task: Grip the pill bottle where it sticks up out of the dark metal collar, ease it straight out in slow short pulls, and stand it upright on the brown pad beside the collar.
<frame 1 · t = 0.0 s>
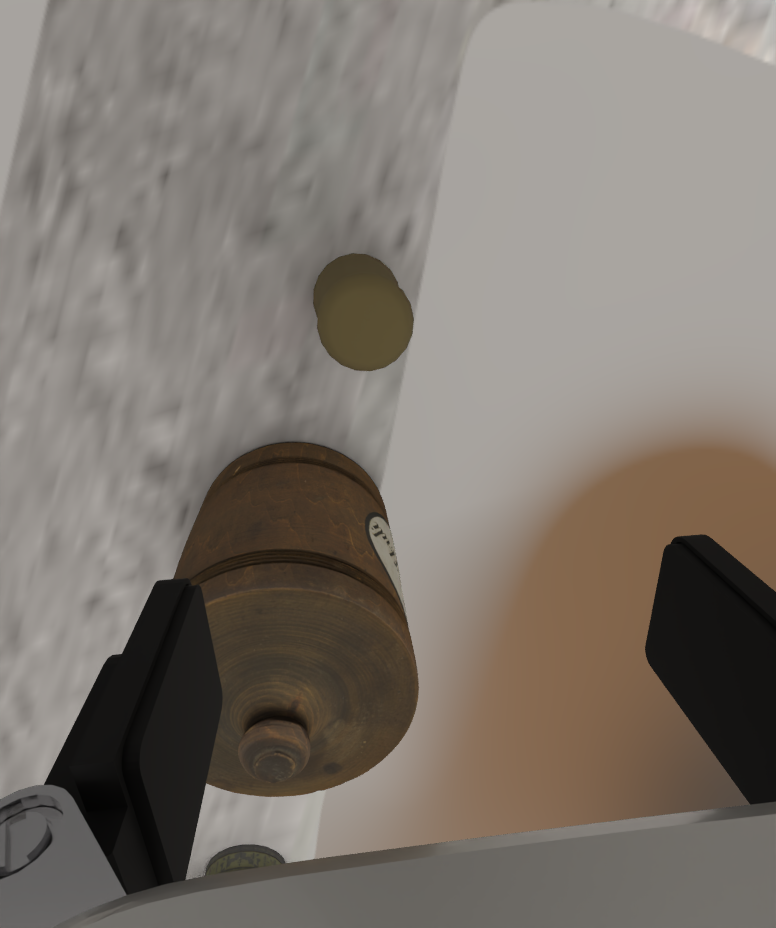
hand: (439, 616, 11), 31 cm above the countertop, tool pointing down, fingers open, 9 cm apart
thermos: (246, 868, 62), on the countertop
wooden container: (296, 524, 46), on the countertop
cork: (356, 299, 39), on the countertop
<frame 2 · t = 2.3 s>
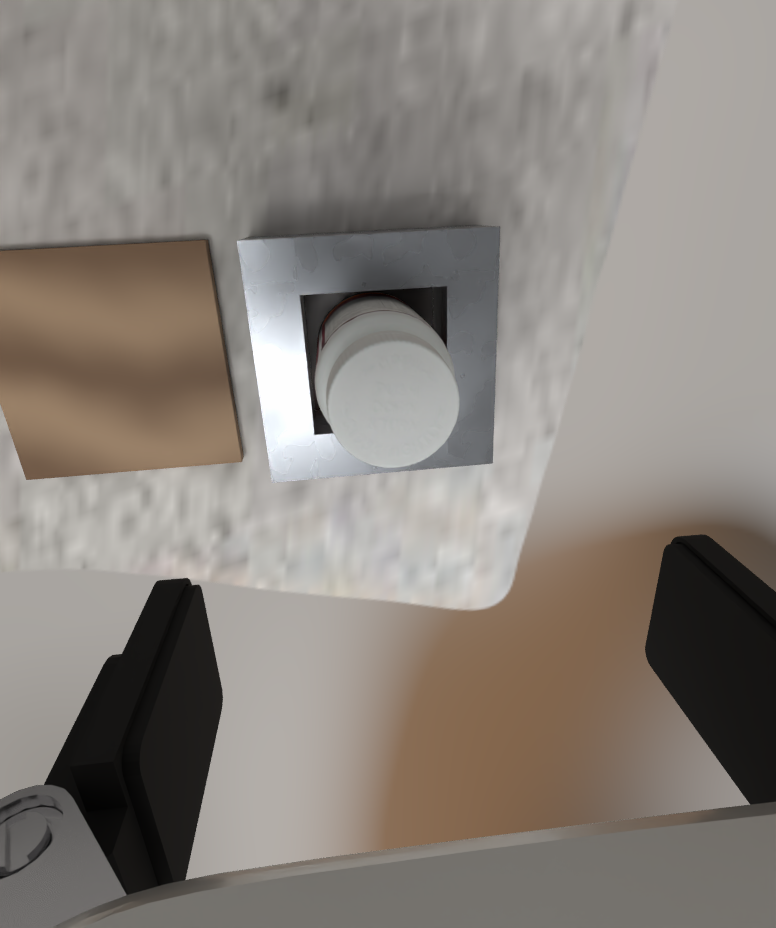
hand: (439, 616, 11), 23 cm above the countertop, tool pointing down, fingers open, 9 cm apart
metal collar: (371, 346, 32), on the countertop
brown pad: (114, 364, 31), on the countertop
pill bottle: (371, 345, 32), resting in metal collar
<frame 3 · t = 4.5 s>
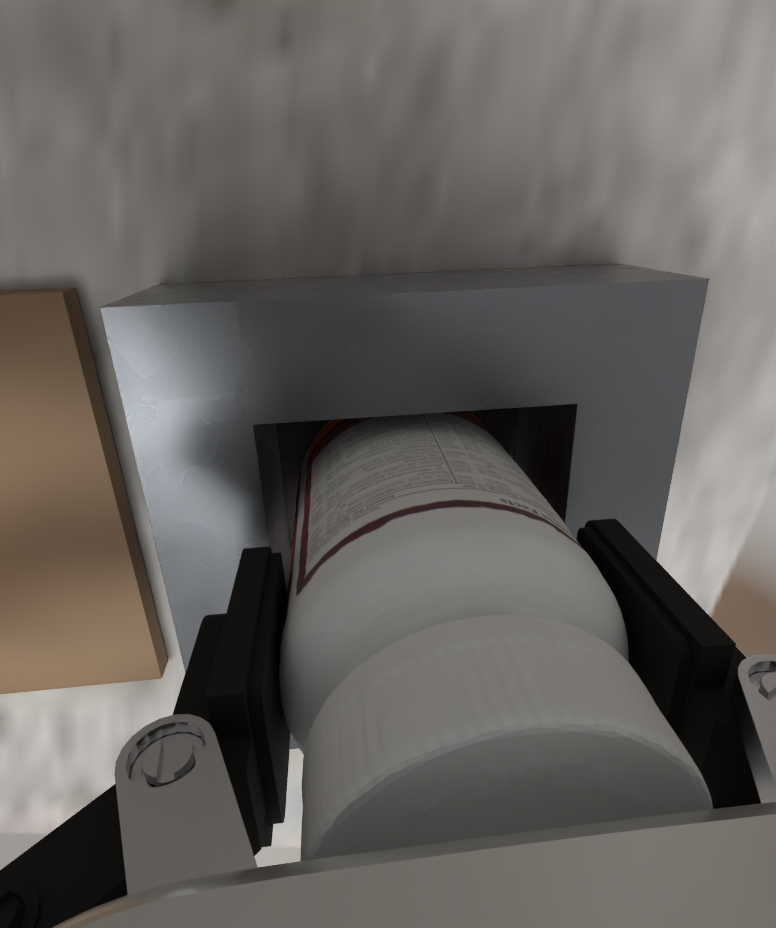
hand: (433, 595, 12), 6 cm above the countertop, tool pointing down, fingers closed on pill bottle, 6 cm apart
metal collar: (400, 481, 17), on the countertop
pill bottle: (399, 478, 17), resting in metal collar, touching gripper
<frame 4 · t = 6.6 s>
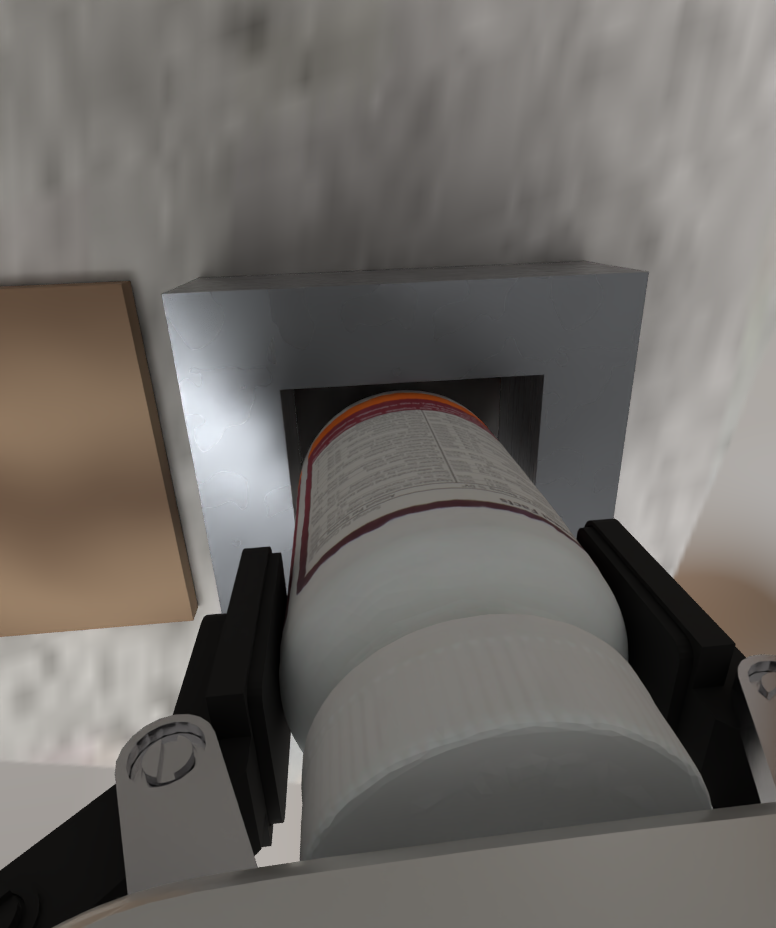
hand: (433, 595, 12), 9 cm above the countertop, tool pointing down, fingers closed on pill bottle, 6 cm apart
metal collar: (400, 448, 20), on the countertop
pill bottle: (400, 478, 17), point 3 cm above the countertop, touching gripper
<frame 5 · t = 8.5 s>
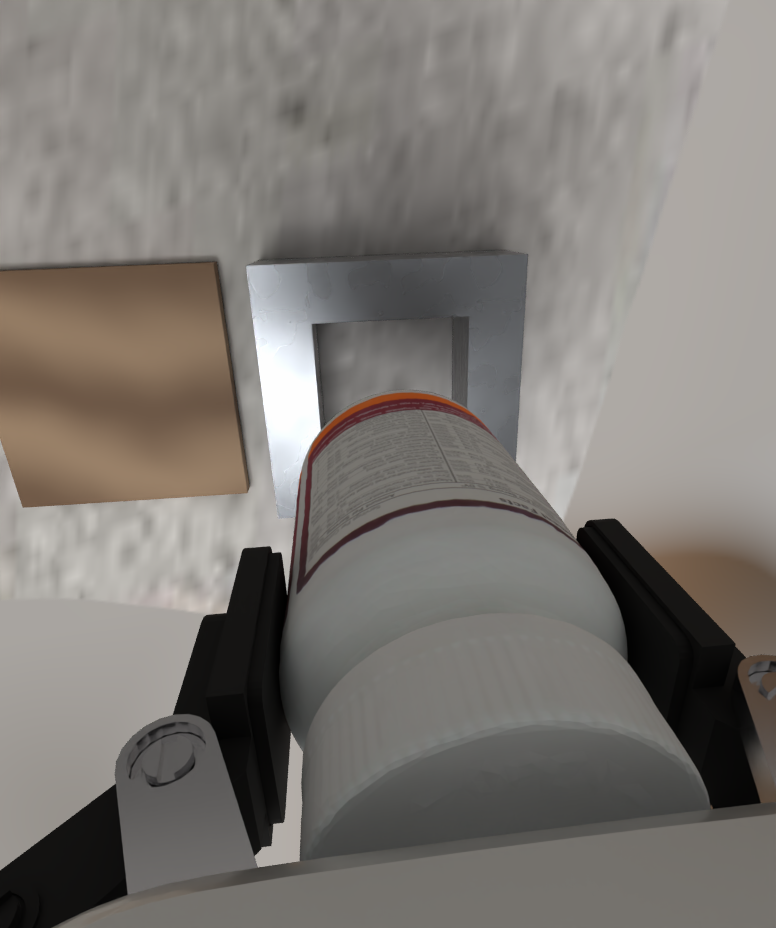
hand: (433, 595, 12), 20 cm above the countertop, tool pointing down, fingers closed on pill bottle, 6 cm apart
metal collar: (386, 375, 30), on the countertop
brown pad: (117, 389, 29), on the countertop
pill bottle: (400, 478, 17), point 14 cm above the countertop, touching gripper
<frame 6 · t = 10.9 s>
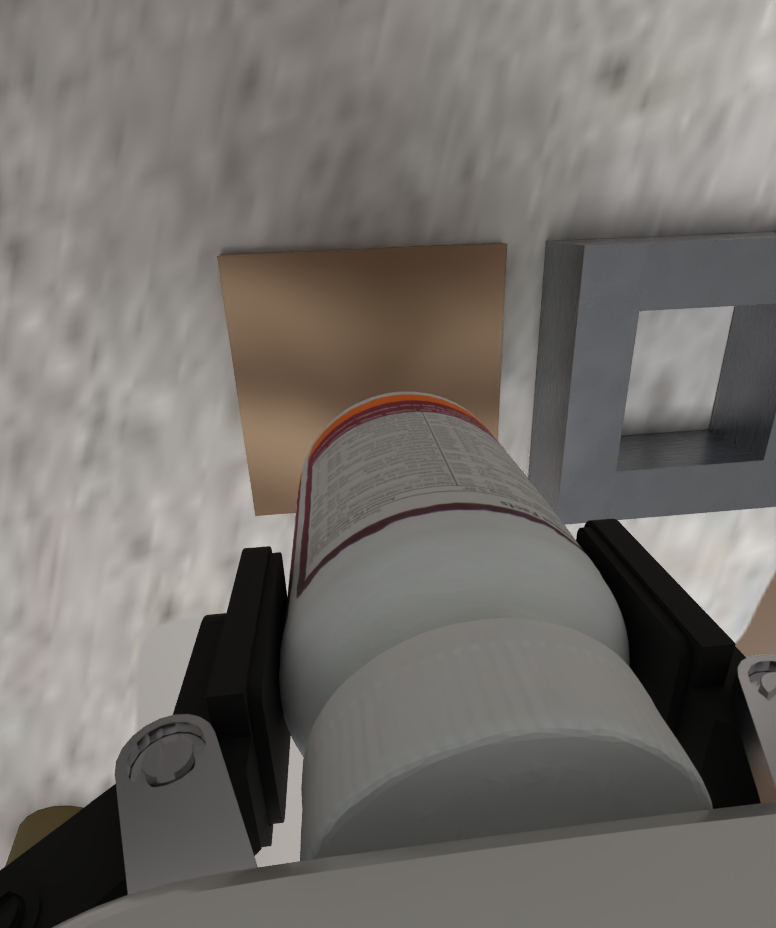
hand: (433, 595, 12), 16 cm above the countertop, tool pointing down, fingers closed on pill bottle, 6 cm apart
metal collar: (655, 367, 28), on the countertop
brown pad: (370, 385, 26), on the countertop
pill bottle: (400, 480, 17), point 10 cm above the countertop, touching gripper
cork: (69, 834, 37), on the countertop
when the fingers open (7 cm above the countertop, at t = 12.8 s): pill bottle drops 1 cm, resting on brown pad.
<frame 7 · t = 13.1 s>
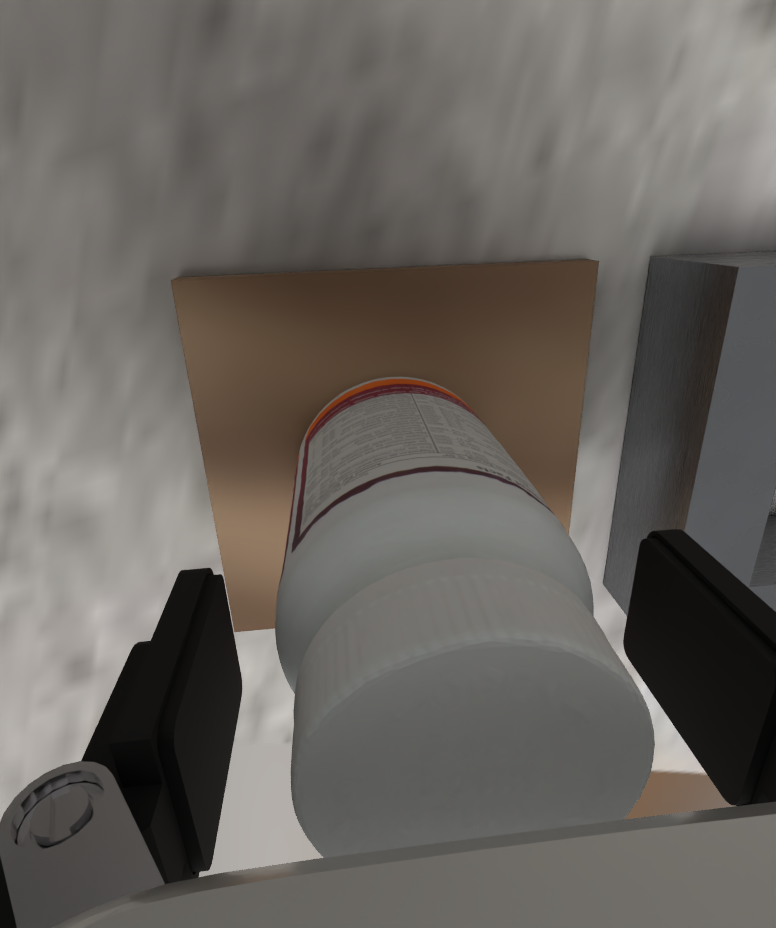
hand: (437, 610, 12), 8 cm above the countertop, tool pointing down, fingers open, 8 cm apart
brown pad: (394, 456, 19), on the countertop
pill bottle: (393, 462, 18), point 1 cm above the countertop, touching brown pad
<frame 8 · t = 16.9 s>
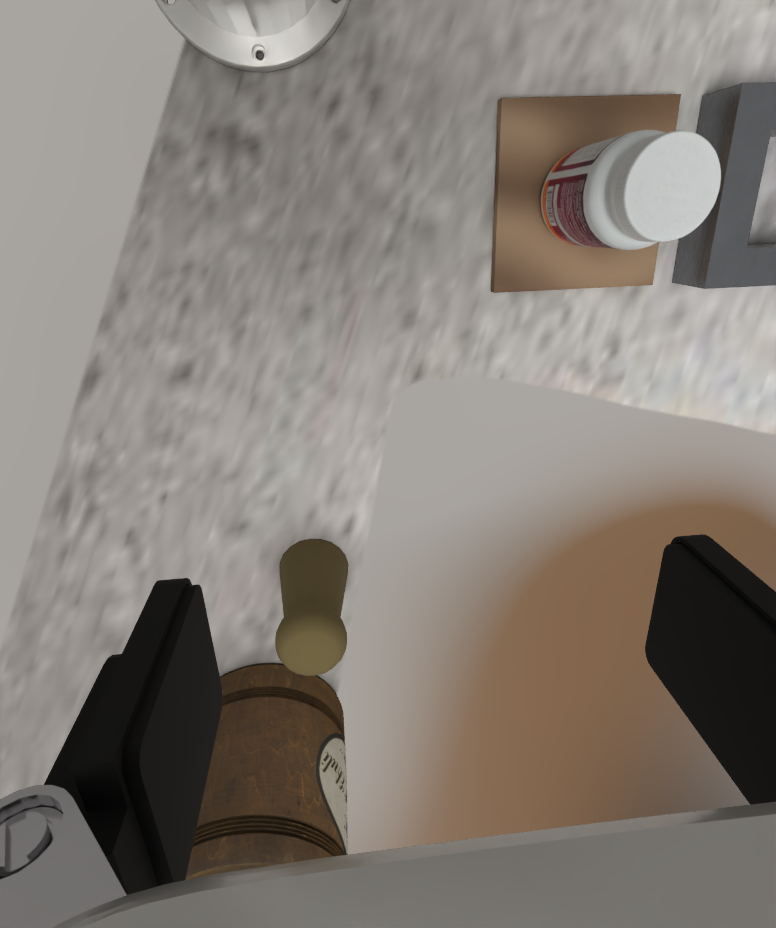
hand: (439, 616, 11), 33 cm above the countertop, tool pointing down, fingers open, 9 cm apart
metal collar: (765, 192, 41), on the countertop
brown pad: (578, 198, 40), on the countertop
wooden container: (270, 718, 57), on the countertop
pill bottle: (580, 197, 39), point 1 cm above the countertop, touching brown pad
cork: (314, 567, 50), on the countertop
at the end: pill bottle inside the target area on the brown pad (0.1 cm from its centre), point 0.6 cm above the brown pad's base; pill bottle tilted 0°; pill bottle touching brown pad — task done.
